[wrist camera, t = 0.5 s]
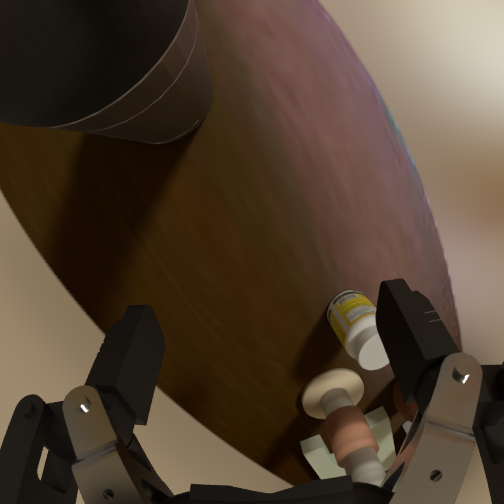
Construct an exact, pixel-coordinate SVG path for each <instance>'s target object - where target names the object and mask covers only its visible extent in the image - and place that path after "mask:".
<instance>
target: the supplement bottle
mask: <svg viewBox="0 0 504 504" xmlns="http://www.w3.org/2000/svg"><path fill="white" fill-rule="evenodd" d="M375 315H376V307H375V306H374V305H373V304H372V303H371V302H370V301H369V300H368V299H367V298H366V297H365V296H364V295H363V294H362V293H360V292H358V291H345V292H342V293H340V294H339V295H337V296H336V297H335V298H334V299H333V300H332V302H331V303H330V305H329V308H328V311H327V318H328V321H329V323H330V325H331V326H332V328H333V330H334V331H335V333H336V335H337V336H338V338H339V340H340V341H341V343H342V345H343V346H344V348H345V350H346V351H347V353H348V354H349V355H350V356H351V357H353V358H355V359H356V360H357V361H358V363H359V364H360V366H361V367H363V368H364V369H367V370H377V369H380V368H382V367H384V366H385V365H387V364H388V363H389V359H388V357H387V354H386V352H385V349H384V347H383V344H382V342H381V339H380V337H379V334H378V332H377V328H376V322H375Z"/></svg>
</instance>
